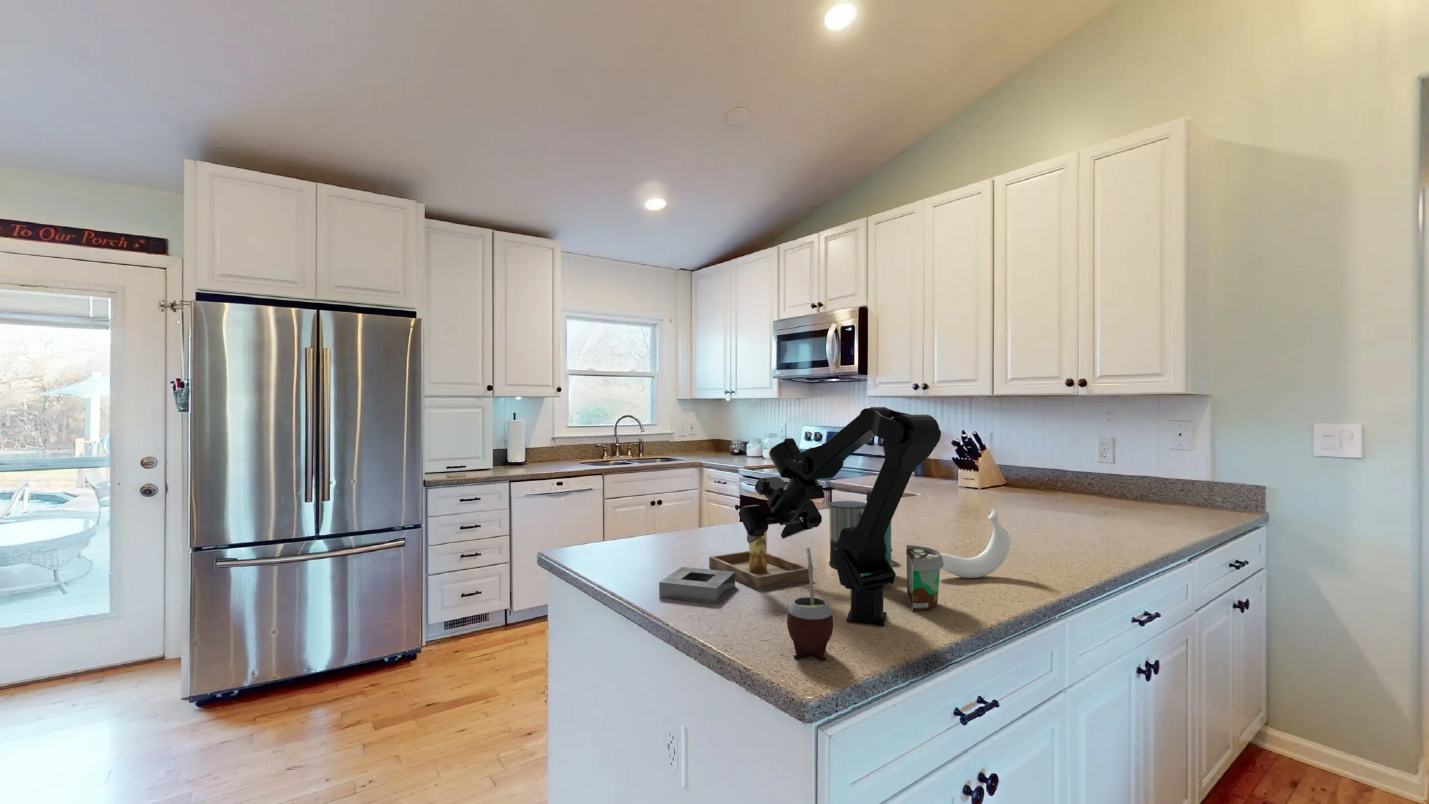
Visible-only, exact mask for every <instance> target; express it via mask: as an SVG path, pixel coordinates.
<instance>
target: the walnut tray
mask: <svg viewBox="0 0 1429 804" xmlns="http://www.w3.org/2000/svg"><path fill="white" fill-rule="evenodd" d="M708 563H709V565H708V569H709V568H710V569H711V570H720V571H730V572H735V581H738V582H739V583H742V584H744V585H747V586H749V587H751V588H754V589H755V590H757V591H759V590H764V589H768V588H769V589H770V588H774V587H781V586H785V585H790V584H796V583H801V582H807V581H809V572H808V566H806V565H803V564H800V563H798V562H794V561H791V560H789V559H785V558H783V557H780V556H777V555H775V554H772V553H769V552H767V572H766V573H761V574H756V573H751V572H749V550H744V551H739V552H738V551H737V552H732V553H726V554H725V553H724V554H718V555H712V556H708Z"/></svg>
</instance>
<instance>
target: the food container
mask: <svg viewBox="0 0 1429 804" xmlns="http://www.w3.org/2000/svg"><path fill="white" fill-rule="evenodd" d="M905 550H906V553H905V555H906V597H907V600H908V602H909V605H910V609H911V611H912V612H914V613H924V612H925V613H926V612H927V613H928V612H931V610H932V611H935V610H937V608H938V600H939V599H938V598H939V589H940V587H939V586H940V574H941V569H940V568H942V567H943V566H944V563H943V559H942V556H941V554H940V553H941V552H940V551H938V550H937V549H935V548H930V547H925V546H922V545H912V544H907V545H906V549H905Z"/></svg>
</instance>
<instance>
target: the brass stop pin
mask: <svg viewBox="0 0 1429 804" xmlns="http://www.w3.org/2000/svg"><path fill="white" fill-rule="evenodd" d="M764 534H765V535H764V536H762V537H760V538H759V539H757V540H755V541H754V542H752V543H748V551H749V572H751V573H756V574H761V573H766V572H767V553H768V530H767V531H766V532H765V533H764Z"/></svg>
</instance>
